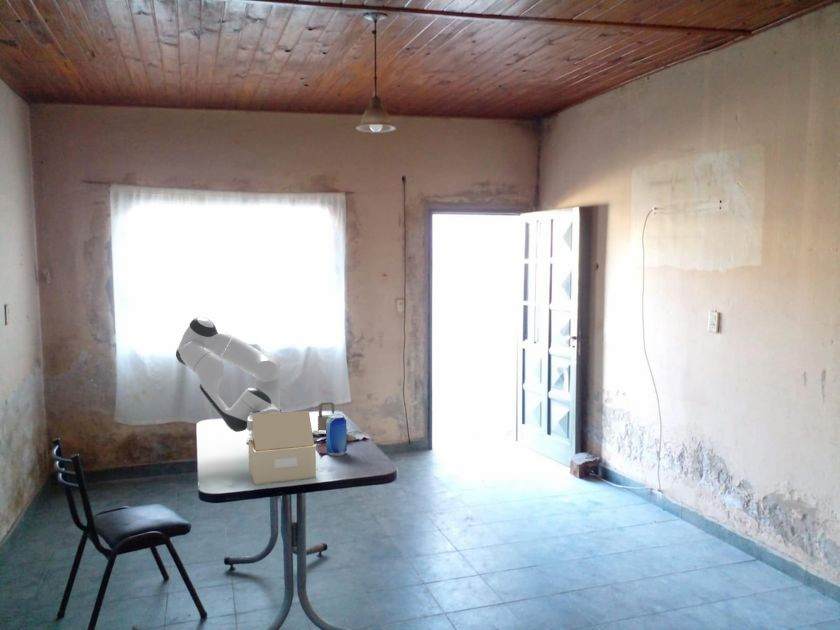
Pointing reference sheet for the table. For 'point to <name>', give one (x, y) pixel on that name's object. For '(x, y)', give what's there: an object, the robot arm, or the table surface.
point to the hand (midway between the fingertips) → (276, 427)
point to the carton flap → (282, 430)
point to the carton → (282, 464)
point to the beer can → (336, 435)
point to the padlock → (323, 418)
